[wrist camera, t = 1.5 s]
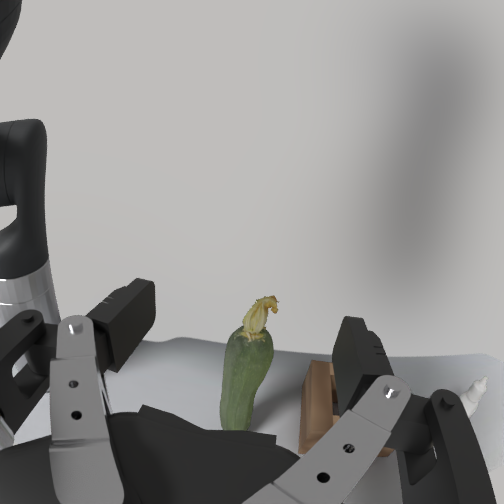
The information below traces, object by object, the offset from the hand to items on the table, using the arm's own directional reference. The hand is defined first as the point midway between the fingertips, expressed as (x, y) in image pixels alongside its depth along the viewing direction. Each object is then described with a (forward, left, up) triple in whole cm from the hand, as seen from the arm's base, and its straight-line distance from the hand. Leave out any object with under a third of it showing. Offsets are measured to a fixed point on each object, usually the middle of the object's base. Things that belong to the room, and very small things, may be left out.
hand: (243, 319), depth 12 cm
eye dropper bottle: (+30, +12, -24) cm, 40 cm away
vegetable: (0, +11, -24) cm, 27 cm away
